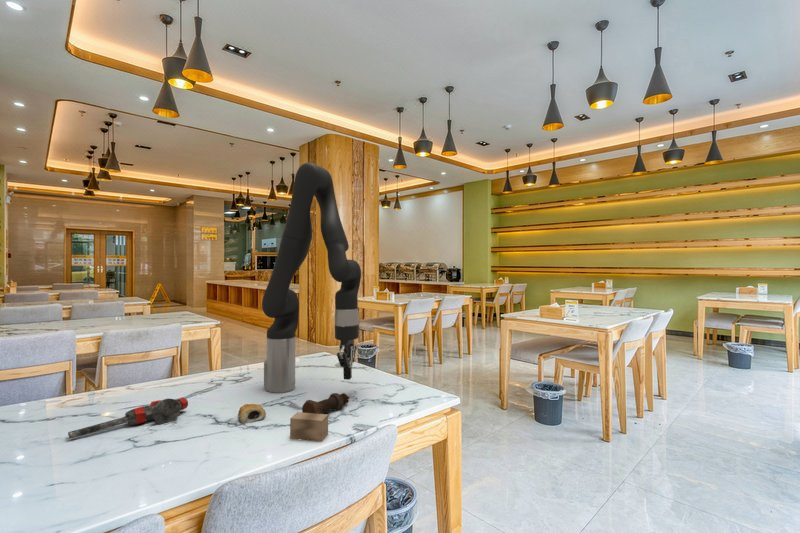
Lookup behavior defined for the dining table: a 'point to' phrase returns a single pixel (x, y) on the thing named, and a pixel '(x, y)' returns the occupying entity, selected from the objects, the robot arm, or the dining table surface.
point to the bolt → (326, 404)
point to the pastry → (251, 413)
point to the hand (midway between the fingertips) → (347, 378)
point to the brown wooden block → (309, 426)
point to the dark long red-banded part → (141, 416)
